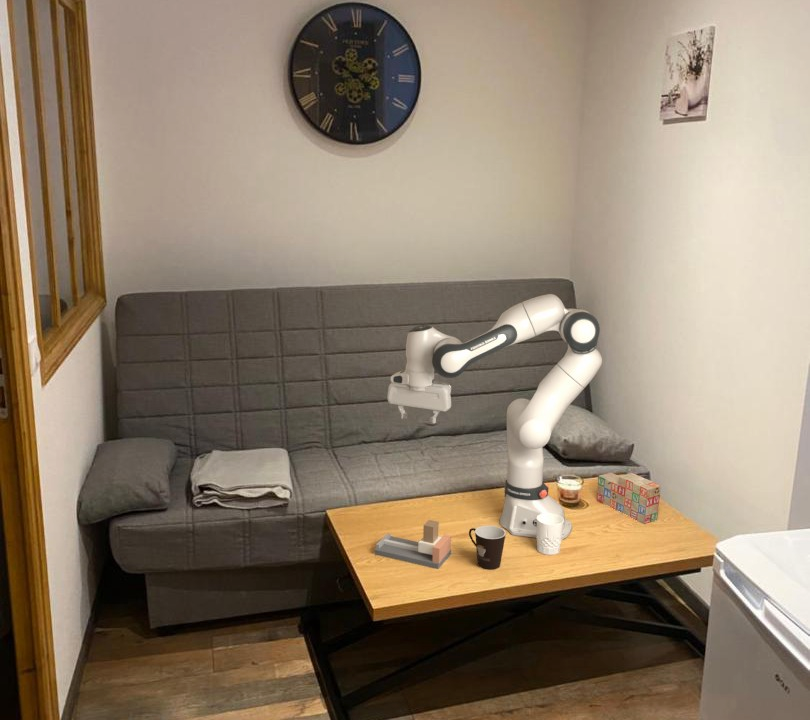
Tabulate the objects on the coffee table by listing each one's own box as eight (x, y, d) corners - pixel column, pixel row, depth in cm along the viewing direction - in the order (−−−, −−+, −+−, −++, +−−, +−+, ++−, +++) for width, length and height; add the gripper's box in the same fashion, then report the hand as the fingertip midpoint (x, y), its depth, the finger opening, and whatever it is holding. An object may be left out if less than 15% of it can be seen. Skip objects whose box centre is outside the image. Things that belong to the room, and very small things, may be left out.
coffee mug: (509, 569, 229) (510, 537, 227) (480, 573, 227) (481, 540, 224) (493, 550, 240) (494, 519, 238) (465, 554, 238) (466, 522, 235)
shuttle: (442, 546, 236) (443, 521, 234) (434, 555, 231) (435, 529, 229) (426, 543, 238) (427, 517, 236) (418, 551, 233) (418, 525, 231)
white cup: (532, 553, 239) (534, 521, 237) (537, 542, 246) (539, 511, 244) (559, 558, 236) (561, 526, 234) (563, 546, 244) (566, 515, 241)
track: (451, 553, 238) (451, 535, 236) (438, 569, 229) (438, 549, 227) (388, 540, 246) (389, 521, 244) (374, 554, 237) (374, 535, 235)
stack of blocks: (595, 501, 277) (598, 467, 274) (609, 497, 280) (611, 463, 277) (644, 525, 259) (647, 488, 256) (657, 520, 263) (661, 485, 260)
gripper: (455, 379, 250) (453, 422, 253) (393, 371, 257) (393, 413, 261) (447, 384, 244) (446, 428, 247) (385, 376, 252) (384, 419, 255)
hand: (418, 420), depth 254 cm, fingers open, 8 cm apart
